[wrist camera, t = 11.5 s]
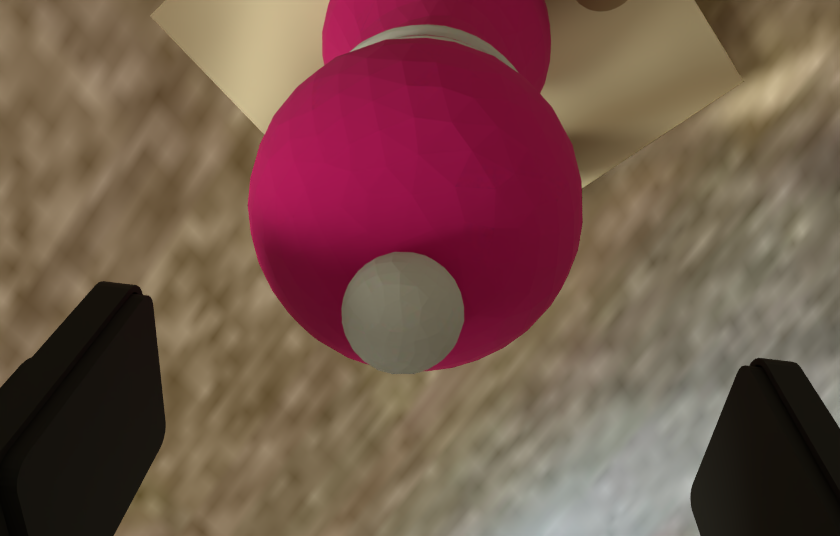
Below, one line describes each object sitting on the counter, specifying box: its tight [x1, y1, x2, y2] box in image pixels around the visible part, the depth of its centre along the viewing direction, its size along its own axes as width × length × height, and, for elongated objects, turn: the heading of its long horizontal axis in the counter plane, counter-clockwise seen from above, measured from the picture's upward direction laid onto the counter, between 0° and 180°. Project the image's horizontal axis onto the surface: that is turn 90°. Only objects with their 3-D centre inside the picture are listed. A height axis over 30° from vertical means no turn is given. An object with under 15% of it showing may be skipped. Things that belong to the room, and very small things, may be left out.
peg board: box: [151, 0, 744, 188], centre depth 25 cm, size 16×16×8 cm
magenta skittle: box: [248, 0, 582, 374], centre depth 18 cm, size 7×7×20 cm
